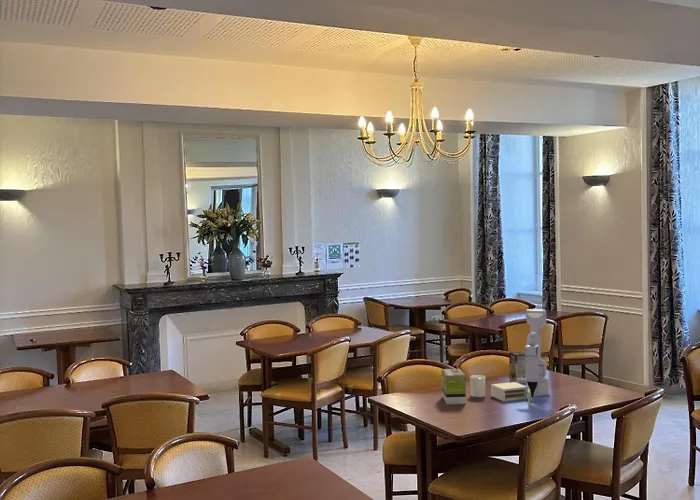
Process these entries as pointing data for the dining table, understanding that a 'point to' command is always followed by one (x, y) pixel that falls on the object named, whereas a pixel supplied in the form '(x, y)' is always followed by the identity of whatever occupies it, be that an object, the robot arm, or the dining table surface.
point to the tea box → (453, 386)
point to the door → (529, 397)
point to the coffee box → (517, 366)
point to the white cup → (477, 385)
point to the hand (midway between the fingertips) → (532, 397)
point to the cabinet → (509, 391)
